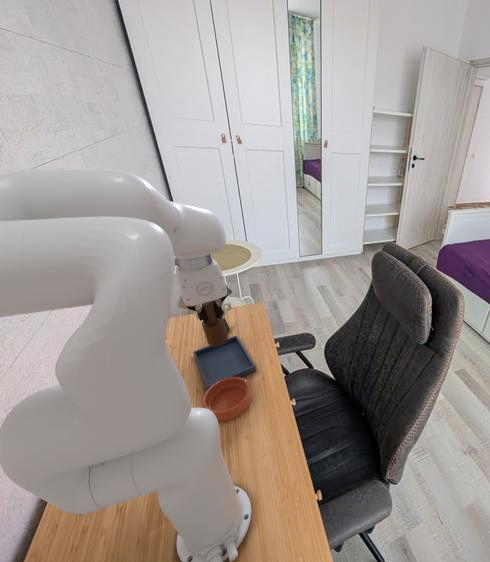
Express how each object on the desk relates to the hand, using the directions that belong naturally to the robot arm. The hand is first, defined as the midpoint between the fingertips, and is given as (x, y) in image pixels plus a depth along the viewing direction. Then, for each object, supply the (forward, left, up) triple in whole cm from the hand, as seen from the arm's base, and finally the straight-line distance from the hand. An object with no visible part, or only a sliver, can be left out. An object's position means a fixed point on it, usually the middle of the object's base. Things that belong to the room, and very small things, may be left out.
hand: (211, 318), depth 79 cm
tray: (0, 0, -18) cm, 18 cm away
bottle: (0, 0, -8) cm, 8 cm away
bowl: (-15, +3, -18) cm, 24 cm away
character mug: (+17, -3, -19) cm, 25 cm away
